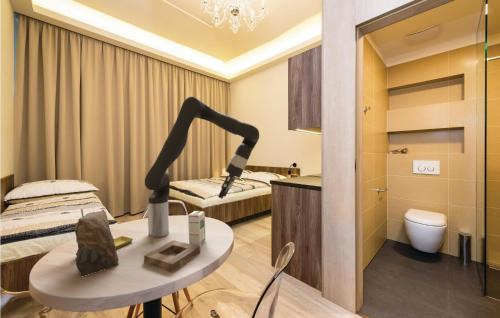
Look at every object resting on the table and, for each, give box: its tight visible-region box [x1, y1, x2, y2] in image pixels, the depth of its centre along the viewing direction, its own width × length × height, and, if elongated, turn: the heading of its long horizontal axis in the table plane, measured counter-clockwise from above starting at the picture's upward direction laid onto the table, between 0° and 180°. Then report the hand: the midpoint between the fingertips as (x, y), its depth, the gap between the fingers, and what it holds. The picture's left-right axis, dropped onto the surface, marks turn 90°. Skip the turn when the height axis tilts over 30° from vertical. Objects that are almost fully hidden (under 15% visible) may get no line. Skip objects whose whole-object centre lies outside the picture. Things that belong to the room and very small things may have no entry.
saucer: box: [113, 235, 134, 249], centre depth 96 cm, size 9×9×2 cm
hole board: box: [143, 239, 201, 273], centre depth 83 cm, size 15×15×3 cm
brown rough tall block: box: [74, 209, 119, 277], centre depth 78 cm, size 13×13×20 cm
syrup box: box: [187, 210, 206, 246], centre depth 97 cm, size 6×6×14 cm
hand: (221, 196), depth 96 cm, fingers open, 8 cm apart
